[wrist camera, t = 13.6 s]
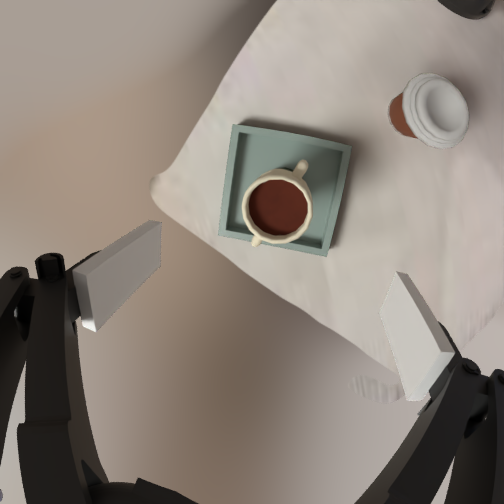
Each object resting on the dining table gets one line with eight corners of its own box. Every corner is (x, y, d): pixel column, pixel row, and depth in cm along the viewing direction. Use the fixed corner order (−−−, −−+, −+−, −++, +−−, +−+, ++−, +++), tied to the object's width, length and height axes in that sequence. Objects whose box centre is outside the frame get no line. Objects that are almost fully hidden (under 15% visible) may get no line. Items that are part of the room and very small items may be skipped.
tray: (236, 125, 37) (232, 124, 35) (348, 145, 36) (352, 146, 34) (222, 230, 44) (218, 235, 41) (325, 250, 42) (326, 257, 40)
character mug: (281, 143, 37) (273, 142, 25) (325, 170, 37) (338, 183, 25) (243, 207, 41) (219, 236, 29) (285, 232, 42) (279, 271, 30)
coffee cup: (416, 79, 30) (454, 62, 19) (442, 134, 32) (486, 136, 21) (368, 97, 33) (394, 81, 22) (395, 155, 35) (430, 161, 24)
